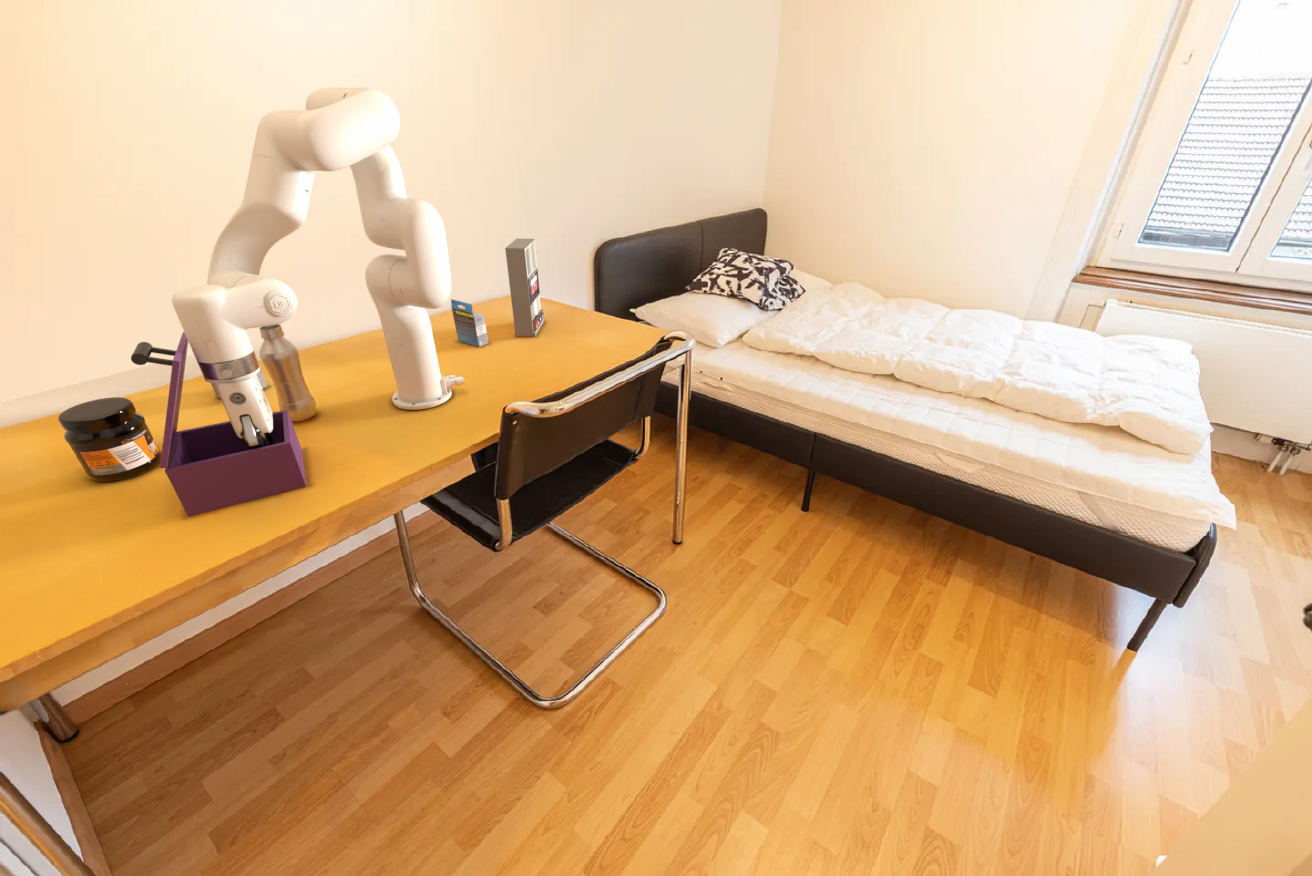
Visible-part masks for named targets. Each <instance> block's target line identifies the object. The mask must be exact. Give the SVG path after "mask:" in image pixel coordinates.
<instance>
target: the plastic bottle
mask: <svg viewBox="0 0 1312 876" xmlns="http://www.w3.org/2000/svg"><path fill="white" fill-rule="evenodd" d="M258 328H259V333H260V337H261V339H262V340H263V342H262V344H261V346H260V349H259V358H260V361H261V362H262V364H263V365H264V367H265V369H266V371H267V372H268V374H269V377H270V379H271V381H272V383H273V386H274V388H275V389H274V390H275V393H276V397H277V401H278V407H279V411H283V410H288V413H289V415H290V418H291V421H292V422H301V421H305V420H308V419H310V418H312V417H314V416H315V415H316V413H317V410H318V408H317V402H316V400H315V398H314V396H313V395H312V393H311V392H310V389H309V388H308V384H307V383H306V381H305V378H304V374H303V370H302V367H301V361H300V355H299V350H298V348H297V346H295V344H294V343H293V342H291V341H290V340H289V339H287V338H286V337H285V336H284V335H285V331H284V330H283V326H282V325H281V324H277V325H272V326H264V327H258Z"/></svg>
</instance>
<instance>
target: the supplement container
mask: <svg viewBox="0 0 1312 876" xmlns="http://www.w3.org/2000/svg"><path fill="white" fill-rule="evenodd" d="M57 420H58V422H59V423H60V424H59V425H61V427H62V429H63V430H65V431H64V434H63V437H64V440H65V442H66V443H67V444H68V445H69V446H70V448H71V450H72V451H73V453H74V455H75V457H76V458H77V460H78V462H79V463H80V465H81V466H82V468H83V470H84V473H85V474H86V476H87V477H88V478H90V479H91V480H94V481H97V482H115V481H121V480H126V479H130V478H132V477H136V476H139V475H141V474H143V473H146V472H148V471H150V470H151V469H152V468H154V467H155V466H156V465H157V464H158V463H159V462H161V455H162V450H161V449H160V448H159V447H158V445H157V442H156V441H155V438H154V437H153V436H154V435H152V432H151V431H150V428H149V427H148V424H147V422H146V418H145V417H144V415H143V414H141V413H139V412H137V409H136V407H135V405H134V402H133V401H132V400H131V399H130V398H127V397H121V396H119V397H117V396H115V397H105V398H103V397H102V398H98V399H93V400H89V401H85V402H82V403H79V404H76V405H74V406H72V407H69V408H67V409H66V410H64V411H62V412H61V413H60V414H59V415H58V416H57Z"/></svg>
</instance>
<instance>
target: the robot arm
mask: <svg viewBox="0 0 1312 876" xmlns="http://www.w3.org/2000/svg"><path fill="white" fill-rule="evenodd" d="M400 128H401V117H400V113H399V110H398V108H397V106H396V104H395V103H394V101H393V100H392V99H391V98H390V97H389V96H388V95H387V94H385V93H384V92H382V91H380V90H378V89H375V88H372V87H324V88H319V89H316V90H314V91H312V92H310V93H309V95H308V96H307V97H306V99H305V109H281V110H273V111H269V112H268V113H267V112H266V114H264V115H263V116H262V117H261V118H260V120H259V122H258V124H257V128H256V133H255V139H254V143H253V148H252V153H251V158H250V164H249V169H248V175H247V179H246V184H245V189H244V194H243V199H242V202H241V204H240V205H239V207H238V208H237V209H236V211H234V213H233V214H232V215H231V217H230V219H229V220H228V222H227V223H226V225H225V226H224V228H223V229H222V230H221V232H220V233H219V235H218V236H217V239H216V241H215V244H214V246H213V250H212V254H211V258H210V263H209V268H208V272H207V281H206V284H201V285H194V286H189V287H184V288H182V289H179V290H177V291H175V292H174V293H173V294H172V297H171V303H172V306H173V309H174V311H175V313H176V316H177V318H178V320H179V323H180V325H181V327H182V330H183V332H185V335H186V337H187V339H188V345H189V346H190V348H191V351H192V353H193V356H194V357H195V360H196V363H197V364H198V367H199V370H200V372H201V375H202V376H203V379H204V381H205V382H206V383H210V384H211V383H215V384H216V387H217V389H218V392H219V394H220V397H221V398H220V399H221V402H222V405H223V407H224V409H225V413H226V415H227V417H228V419H229V421H230V422H231V424H232V426H233V428H234V430H235V432H236V434H237V436H238V437H239V438H242V439H243V438H245V440H246V442H247V445H248V448H249V450H251V449H256V448H260V447H265V446H269V445H274V444H275V442H274V440H273V437H272V435H271V434H269V433H271V432H272V430H273V415H272V413H273V411H272V410H273V409H272V408H271V405H270V403H269V401H268V398H267V396H266V393H265V391H264V388H263V389H262V386H261V384H260V382H259V379H258V377H257V375H256V374H257V373H258V372H259V371H260V368H261V365H260V363H259V361H257V360H258V358H257V356H256V352H255V350H254V347H253V345H251V344H252V342H251V340H250V337H249V334H248V330H249V329H256V328H260V327H264V326H272V325H277V324H280V325H281V324H283V323H285V322H287V321H289V320H291V319H292V317H294V316H295V314H296V312H297V310H298V306H299V303H298V302H299V301H298V297H297V295H296V293H295V291H294V290H293V289H292V287H290V286H289V285H288V284H286V283H284V282H283V281H281V280H280V279H279V280H278V279H276V278H273V277H267V276H263V275H260V272H261V268H262V265H263V262H264V260H265V257H266V255H267V254H268V252H269V251H270V249H272V247H274V245H275V244H277V243H278V242H280V241H281V240H283V239H284V238H286V237H287V236H289V235H291V234H293V233H294V232H296V231H298V230H299V229H300V228H301V227H303V226H304V225H305V224H306V221H307V217H308V213H309V208H310V207H309V206H310V202H311V196H312V193H313V192H312V191H313V186H314V181H315V177H316V172H330V173H331V172H335V171H341V170H343V169H345V168H346V169H347V168H348V167H350V170H351V173H352V177H353V181H354V185H355V189H356V194H357V199H358V200H357V201H358V206H359V210H360V215H361V221H362V225H363V229H364V233H365V235H366V237H367V238H368V239H369V241H370V242H371V243H373V244H374V245H376V246H380V247H383V248H387V249H393V250H398V251H400V250H401V251H405V255H401V254H393V253H386V254H380V255H377V256H375V257H374V258H372V259H371V260H370V261H369V263H368V264H367V265H366V268H365V274H364V276H365V277H364V279H365V285H366V288H367V290H368V293H369V295H370V298H371V299H372V301H373V304H374V306H375V308H376V311H377V313H378V316H379V320H380V323H381V327H382V332H383V335H384V340H385V344H386V348H387V353H388V356H389V361H390V364H391V369H392V373H393V377H394V380H395V381H394V382H395V386H396V388H397V389H396V391H395V392H394V393H393V394H392V396H391V401H392V403H393V405H394V406H395V407H397V408H398V409H402V410H409V411H420V410H426V409H431V408H434V407H438V406H440V405H442V404H444V403H446V402H448V400H449V399H450V398H451V397H452V394H453V393H452V389H451V388H452V387H457V386H461V385H465V378H464V376H463V375H461V376H456V375H455V374H451V375H450V374H449V375H447V376H445V375H442V373H441V370H440V364H439V359H438V354H437V348H436V344H435V339H434V334H433V333H434V332H433V328H432V323H431V319H430V317H429V314H428V312H427V310H435V309H439V308H442V307H443V306H444V305H445V304H446V303H447V302H448V300H449V298H450V296H451V292H452V274H451V264H450V258H449V256H450V255H449V249H448V241H447V234H446V233H447V232H446V229H445V224H444V222H443V219H442V217H441V215H440V213H439V211H438V210H437V209H436V207H434V206H433V205H432V204H431V203H429V202H428V201H425V200H424V199H423V200H422V199H419V198H414V197H413V198H411V197H408V194H407V191H406V186H405V180H404V176H403V171H402V168H401V165H400V161H399V160H398V157H397V155H396V153H395V151H394V150H393V148H392V147H391V146H390V145H391V144H393V142H394V141H395V140H396V139H397V138H398V134H399V132H400ZM426 309H427V310H426ZM254 352H255V353H254ZM258 363H259V364H258ZM259 365H260V366H259ZM256 429H259V430H260V431H258V432H256V431H255V430H256ZM266 434H268V435H266ZM258 436H261V437H262V440H263V441H262V440H261V439H258V438H257V437H258Z"/></svg>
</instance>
